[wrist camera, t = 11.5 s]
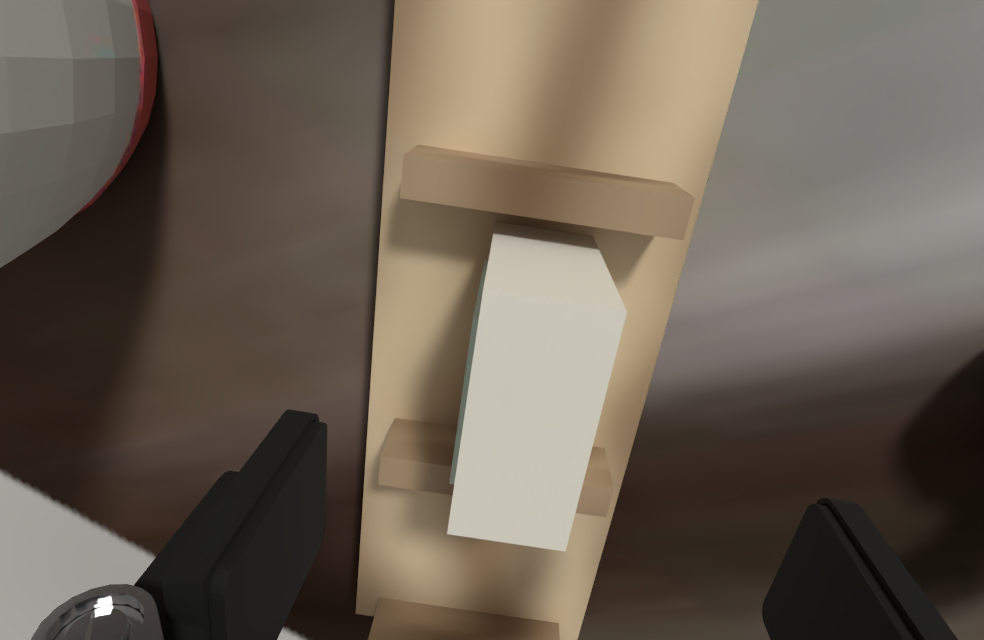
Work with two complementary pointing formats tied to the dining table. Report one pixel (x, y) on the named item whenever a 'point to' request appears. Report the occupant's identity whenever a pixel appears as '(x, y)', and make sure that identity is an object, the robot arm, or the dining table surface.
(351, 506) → the dining table surface
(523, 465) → the frame block
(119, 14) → the citrus juicer
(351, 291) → the dining table surface
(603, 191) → the wooden rack
